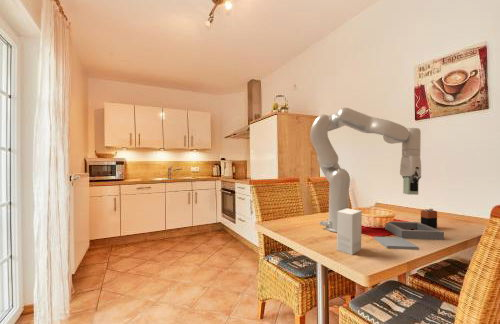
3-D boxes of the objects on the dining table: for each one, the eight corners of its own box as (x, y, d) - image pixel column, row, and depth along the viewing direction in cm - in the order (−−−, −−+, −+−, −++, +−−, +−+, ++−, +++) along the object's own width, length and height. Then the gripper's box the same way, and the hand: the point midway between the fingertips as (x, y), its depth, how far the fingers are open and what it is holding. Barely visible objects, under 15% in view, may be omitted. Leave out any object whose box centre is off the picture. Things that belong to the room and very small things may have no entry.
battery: (437, 228, 125) (437, 209, 125) (428, 229, 123) (428, 210, 123) (429, 226, 129) (429, 208, 129) (420, 227, 127) (420, 208, 127)
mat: (387, 248, 94) (387, 245, 94) (374, 238, 106) (374, 236, 106) (418, 249, 93) (418, 246, 93) (401, 239, 105) (401, 237, 105)
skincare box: (346, 245, 97) (346, 208, 97) (362, 250, 92) (363, 210, 92) (336, 250, 91) (336, 210, 91) (352, 255, 86) (353, 213, 86)
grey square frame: (401, 238, 107) (401, 230, 107) (382, 227, 125) (382, 221, 125) (443, 239, 105) (443, 232, 105) (418, 228, 123) (418, 222, 123)
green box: (408, 194, 113) (408, 177, 113) (403, 193, 118) (403, 177, 118) (418, 194, 113) (418, 178, 113) (412, 193, 117) (412, 177, 117)
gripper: (393, 154, 124) (393, 188, 124) (413, 152, 107) (413, 192, 107) (408, 154, 123) (408, 188, 123) (430, 152, 107) (430, 192, 106)
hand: (410, 190), depth 115 cm, fingers closed on green box, 4 cm apart
